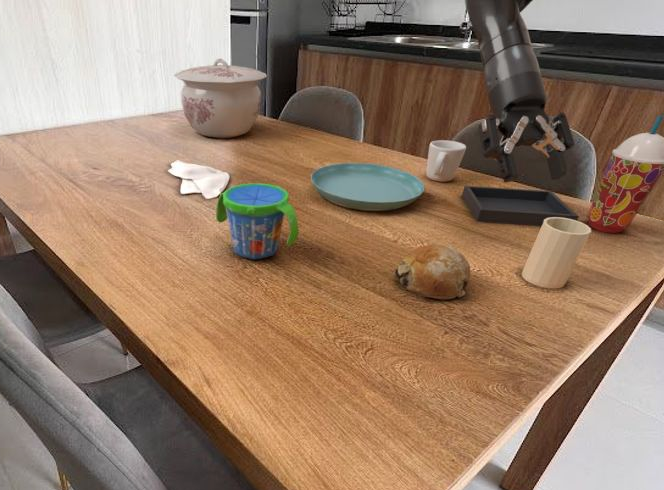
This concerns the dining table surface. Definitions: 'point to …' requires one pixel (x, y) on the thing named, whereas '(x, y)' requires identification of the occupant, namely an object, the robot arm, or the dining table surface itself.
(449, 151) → the cup
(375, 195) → the teal plate
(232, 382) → the dining table surface
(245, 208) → the snack cup
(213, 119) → the chamber pot
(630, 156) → the smoothie
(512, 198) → the tray
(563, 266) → the tumbler
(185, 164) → the cloth
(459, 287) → the bread roll
